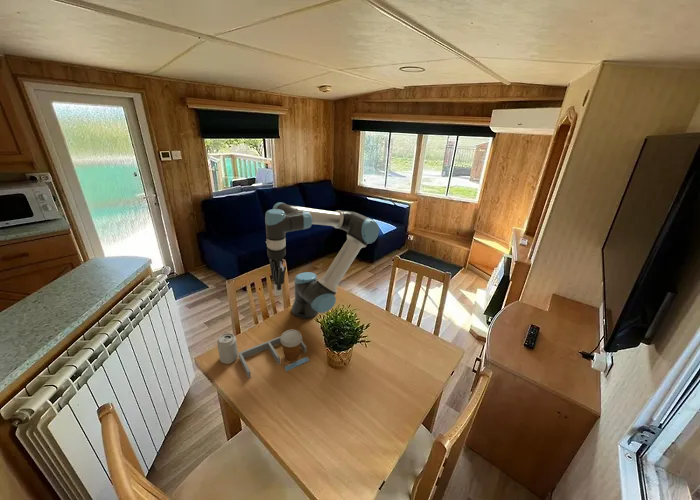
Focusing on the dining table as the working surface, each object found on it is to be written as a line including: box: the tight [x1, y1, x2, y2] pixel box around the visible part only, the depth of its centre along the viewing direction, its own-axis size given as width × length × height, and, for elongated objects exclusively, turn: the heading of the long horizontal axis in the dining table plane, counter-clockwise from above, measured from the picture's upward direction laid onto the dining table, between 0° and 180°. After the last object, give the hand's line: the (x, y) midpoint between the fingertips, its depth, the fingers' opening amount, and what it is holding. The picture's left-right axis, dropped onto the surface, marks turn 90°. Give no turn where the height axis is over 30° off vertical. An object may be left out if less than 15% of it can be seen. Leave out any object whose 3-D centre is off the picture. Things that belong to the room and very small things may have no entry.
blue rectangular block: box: [283, 356, 310, 372], centre depth 123 cm, size 11×2×1 cm, turn 127°
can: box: [216, 332, 239, 364], centre depth 121 cm, size 8×8×12 cm
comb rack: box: [238, 335, 308, 379], centre depth 126 cm, size 27×12×4 cm, turn 127°
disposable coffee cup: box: [280, 329, 303, 363], centre depth 125 cm, size 10×10×12 cm
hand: (278, 294), depth 125 cm, fingers closed
